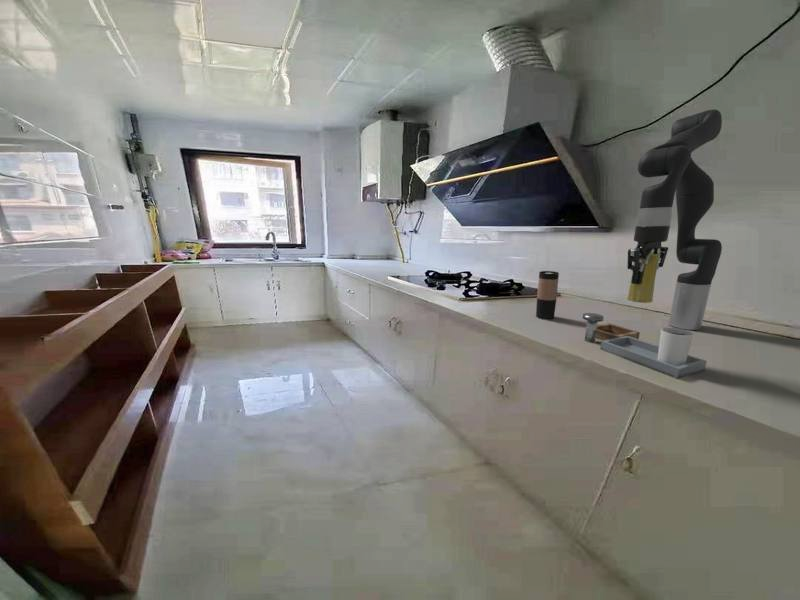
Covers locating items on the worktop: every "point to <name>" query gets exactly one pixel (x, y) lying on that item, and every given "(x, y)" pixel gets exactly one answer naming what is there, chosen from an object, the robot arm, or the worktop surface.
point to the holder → (614, 332)
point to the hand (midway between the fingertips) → (642, 282)
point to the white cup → (674, 346)
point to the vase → (645, 282)
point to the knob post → (591, 325)
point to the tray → (650, 356)
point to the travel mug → (547, 294)
